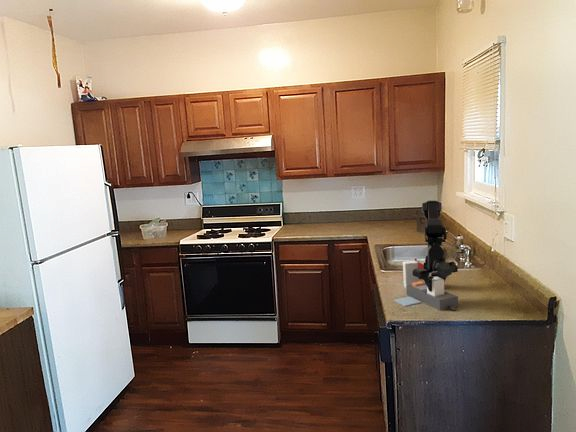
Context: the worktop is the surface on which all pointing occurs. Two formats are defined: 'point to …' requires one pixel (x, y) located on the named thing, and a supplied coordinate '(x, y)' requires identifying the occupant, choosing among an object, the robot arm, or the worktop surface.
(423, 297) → the gray recessed block
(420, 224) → the clothes iron
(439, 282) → the block
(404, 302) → the mat
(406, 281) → the skincare box
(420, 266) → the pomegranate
